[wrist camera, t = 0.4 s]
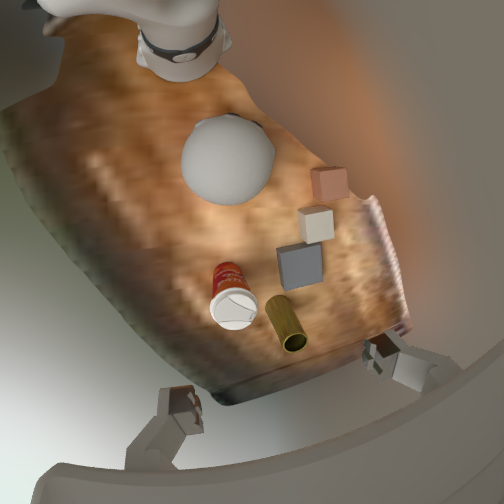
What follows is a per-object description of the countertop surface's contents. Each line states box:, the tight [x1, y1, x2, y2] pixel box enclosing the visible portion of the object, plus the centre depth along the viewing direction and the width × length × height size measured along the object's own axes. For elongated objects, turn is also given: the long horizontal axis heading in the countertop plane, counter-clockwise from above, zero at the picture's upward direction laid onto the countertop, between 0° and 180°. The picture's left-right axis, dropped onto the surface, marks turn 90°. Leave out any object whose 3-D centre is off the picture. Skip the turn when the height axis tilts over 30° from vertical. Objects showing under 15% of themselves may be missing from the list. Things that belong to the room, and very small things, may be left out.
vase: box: [265, 295, 308, 353], centre depth 58 cm, size 6×6×14 cm
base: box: [276, 242, 323, 291], centre depth 60 cm, size 9×9×3 cm
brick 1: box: [310, 166, 349, 202], centre depth 53 cm, size 6×6×5 cm
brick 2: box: [297, 205, 334, 244], centre depth 56 cm, size 6×6×5 cm
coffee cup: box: [210, 262, 258, 330], centre depth 52 cm, size 8×8×15 cm
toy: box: [181, 113, 276, 205], centre depth 44 cm, size 15×15×15 cm
